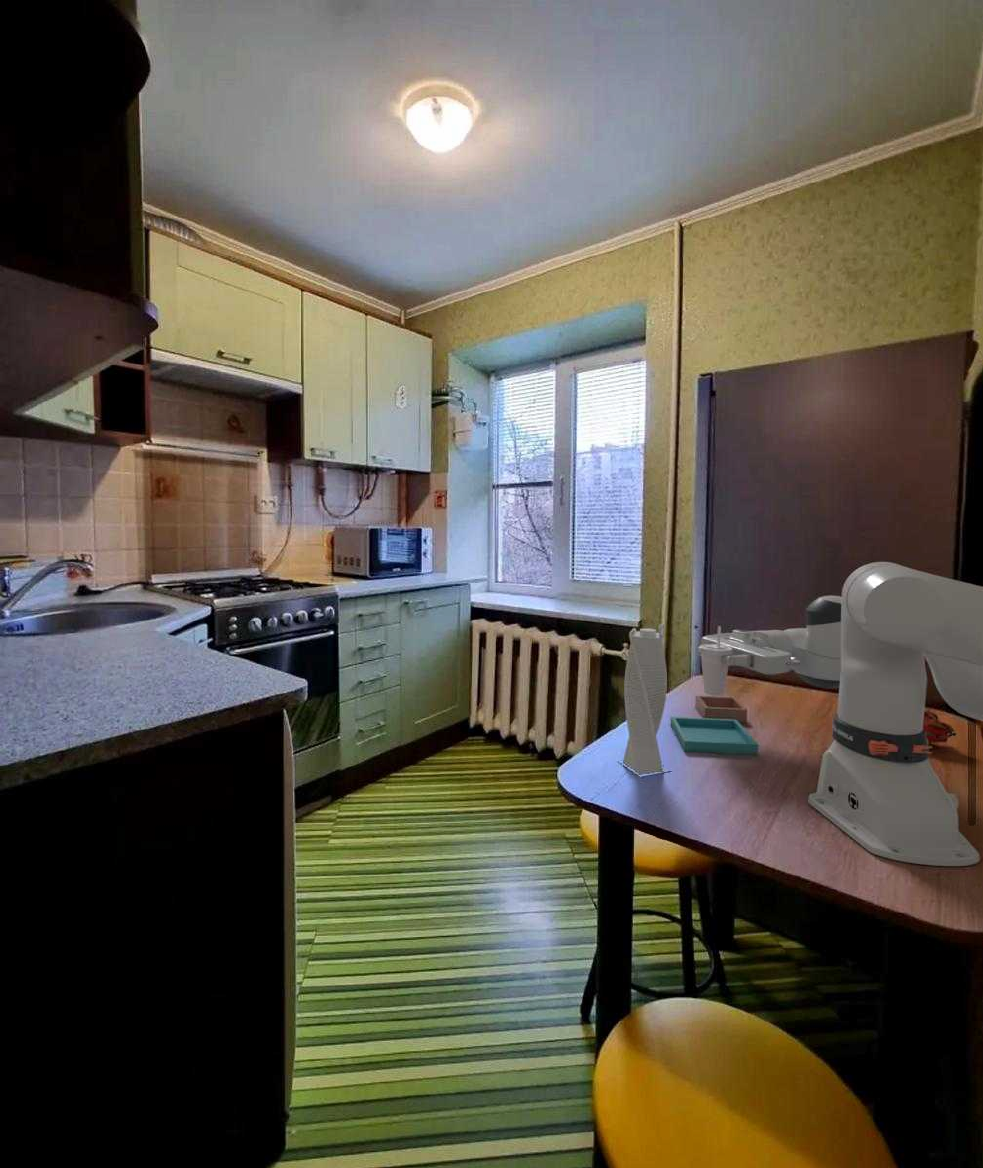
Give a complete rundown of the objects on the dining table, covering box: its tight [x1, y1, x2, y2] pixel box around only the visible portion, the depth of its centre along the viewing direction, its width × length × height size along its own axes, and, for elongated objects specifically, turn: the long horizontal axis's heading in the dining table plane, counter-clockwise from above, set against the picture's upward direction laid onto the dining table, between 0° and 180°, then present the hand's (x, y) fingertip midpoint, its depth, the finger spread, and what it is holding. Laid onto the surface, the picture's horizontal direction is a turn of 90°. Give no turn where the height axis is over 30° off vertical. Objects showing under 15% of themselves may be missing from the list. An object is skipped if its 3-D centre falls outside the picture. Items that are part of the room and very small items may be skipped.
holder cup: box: [694, 695, 748, 723], centre depth 132 cm, size 9×9×3 cm
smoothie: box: [699, 625, 732, 697], centre depth 115 cm, size 6×6×14 cm
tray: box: [670, 716, 759, 756], centre depth 117 cm, size 14×14×2 cm
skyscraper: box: [622, 622, 668, 775], centre depth 102 cm, size 8×8×28 cm
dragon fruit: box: [923, 708, 957, 749], centre depth 115 cm, size 8×8×12 cm
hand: (711, 656), depth 115 cm, fingers closed on smoothie, 6 cm apart
